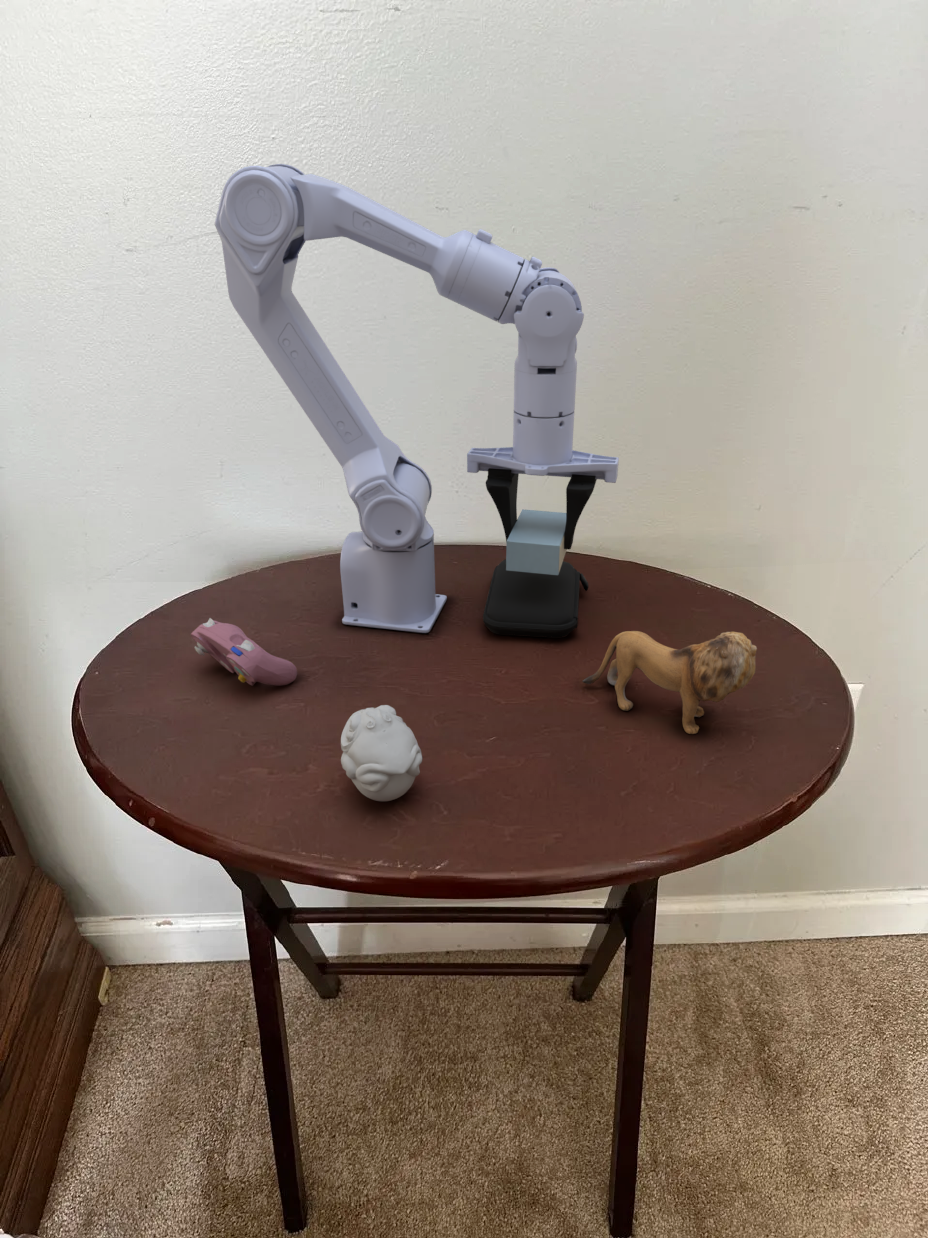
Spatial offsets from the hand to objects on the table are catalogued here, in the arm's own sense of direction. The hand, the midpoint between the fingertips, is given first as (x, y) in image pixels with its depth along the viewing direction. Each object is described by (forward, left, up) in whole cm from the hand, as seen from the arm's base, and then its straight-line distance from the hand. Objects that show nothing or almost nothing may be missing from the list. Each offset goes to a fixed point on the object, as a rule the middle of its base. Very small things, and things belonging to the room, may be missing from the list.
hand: (539, 542), depth 86 cm
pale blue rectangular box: (0, 0, -1) cm, 1 cm away
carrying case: (0, +1, -9) cm, 9 cm away
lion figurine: (+14, -15, -9) cm, 22 cm away
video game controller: (-25, -18, -9) cm, 32 cm away
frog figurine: (-7, -31, -9) cm, 33 cm away
